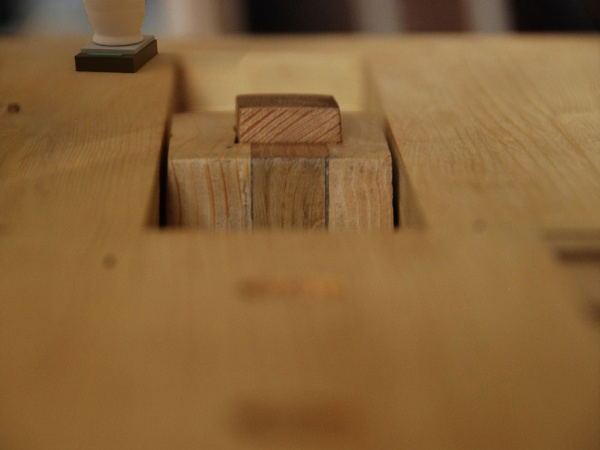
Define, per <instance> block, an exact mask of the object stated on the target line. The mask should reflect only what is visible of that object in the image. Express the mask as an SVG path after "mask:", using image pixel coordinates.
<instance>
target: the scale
mask: <svg viewBox="0 0 600 450" xmlns="http://www.w3.org/2000/svg"><path fill="white" fill-rule="evenodd" d="M142 35H143V37H144V39H143V41H141V42H139V43H135V44H130V45H121V46H109V45H100V44H97V43H95V42H93V40H91V41H90V42H88V43H86V44H85V45H84V46H81V47H80V52H78V53H77V54H76V55H74V66H75V71H76V72H99V73H133V74H134V73H136V72H137V71H138V70H140V69H141V68H142V67H143V66H145V64H147V63H148V62H149V61H150V60H152V59H153V58H154V57H155V56H157V54H158V53H159V51H158V39H156V38H155V34H142Z"/></svg>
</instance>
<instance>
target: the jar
mask: <svg viewBox="0 0 600 450" xmlns="http://www.w3.org/2000/svg"><path fill="white" fill-rule="evenodd" d="M146 1H147V0H82V2H83V6H84V9H85V13H86V17H87V20H88V23H89V25H90V26H91V28H92V30H93V31H94V33H93V36H92V41H93V42H95V43H97V44H100V45H109V46H121V45H130V44H135V43H139V42H141V41H143V39H144V37H143V35H144V34H143V33H142V31H141V28H142V27H143V24H144V21H145V16H146V15H145V14H146Z"/></svg>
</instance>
